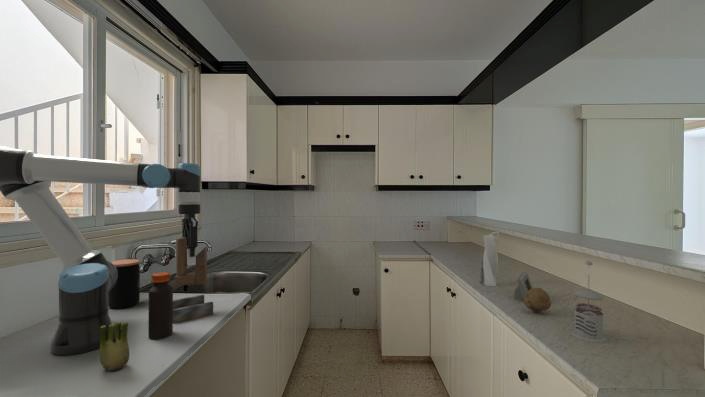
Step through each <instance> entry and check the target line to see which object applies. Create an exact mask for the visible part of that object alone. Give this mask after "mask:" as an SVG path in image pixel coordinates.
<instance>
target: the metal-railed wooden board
mask: <svg viewBox="0 0 705 397" xmlns="http://www.w3.org/2000/svg"><path fill="white" fill-rule="evenodd" d="M211 315H214V302H213V301H207V302H205V294H198V295H194V296H186V297H181V298H177V299H173V324H176V323H180V322H184V321H190V320H193V319H198V318H202V317H207V316H211Z"/></svg>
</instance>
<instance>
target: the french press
mask: <svg viewBox="0 0 705 397" xmlns="http://www.w3.org/2000/svg"><path fill="white" fill-rule="evenodd" d="M585 265H587V266H593V262H592V261H590V260H587V261H586V262H585ZM587 279H588V280H587V282H588V286H587V289H579V290H576V291H574V292H573V294H574V295H572V296H571V295H570V296H569V297H567V298H566V300H565V302H564V303H565V307H564V308H565V310H566V312H567V314H568V315H569V316H571V317H572V318H573V329H572V330H571V331H570V334H571V335H572V336H573V337H575V338H577V339H579V340H583V341H586V342H591V343H595V344H596V343H599V344H600V343H601V344H602V343H606V342H607V341H608V340H607V338H606V337H605V336H604V313H603V312H602V311H603V309H602V307H599V306H598V305H594V304H590V300H592V301H601V300H604V299H605V296H603V295H602V294H601V293H599V292H597V291H594V290H591V289H590V276H588V278H587ZM578 297H579V298H581V299H586V300H588V301H587V303H583V302H582V303H576V304H575V307H576V308H574V309H573V310H574V312H573V313H572V311H571V310H570V307H569V305H567V304H569V303H570V302H569V301H570V299H572V298H573V301H577V300H578ZM584 312H585V313H584ZM586 312H589V313H586ZM592 313H593V314H592ZM594 314H595V315H594Z"/></svg>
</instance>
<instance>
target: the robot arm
mask: <svg viewBox="0 0 705 397" xmlns="http://www.w3.org/2000/svg"><path fill="white" fill-rule="evenodd" d="M54 182H57V183H72V184H73V183H74V184H91V185H92V184H93V185H107V186H108V185H109V186H110V185H112V186H129V187H131V186H132V187H135V186H136V187H142V188H146V189H147V188H148V189H178V192H177V193H178V194H177V198H178V199H177V201H178V203H179V204H178V214H179V215H184V217H183V218H181V231H182V232H181V234H182V236H181V237H185V238H187V247H186V249H187V266H190V267H193V266H192V265H196V255H197V253H196V248H197V247H198V226H199V225H198V224H199V221H198V220H197V218H196V215H199V214H201V204H199V203H201V198H202V197H203V195H201V166H200V165H199V164H198V163H190V162H187V163H186V162H183V163H182V162H181V163H179V164H178V166H177V167H174V168H172V167H166V166H165V165H162V164H161V163H151V164H150V163H139V162H131V161H130V162H129V161H117V160H106V159H105V160H104V159H94V158H93V159H92V158H80V157H78V158H77V157H68V156H67V157H66V156H56V155H46V154H45V155H44V154H37V153H36V152H34V151H33V150H28V149H27V150H26V149H18V148H11V147H9V146H4V145H0V193H1V194H2V196H3V197H4V198H5V199H8V200H10V201H15V202H16V203H17V204H18V207H20V209H21V210H22V212H23V213H24V214H25V215H26V216H27V218H28V219H29V221H30V222H31V224H32V225H33V226H34V227H35V229H36V230H37V232H39V234H40V235H41V236H42V238H43V239H44V241H45V242H46V244H48V246H49V247H50V249H51V250H52V252H53V253H54V255H55V256H56V257H57V258H58V259H59V261H60V262H61V263H62V267H61V271H60V273H59V277H58V281H57V286H58V324H57V327H56V330H55V332H54V335H53V337H52V339H51V342H50V353H52V354H53V355H56V356H71V355H78V354H83V353H87V352H91V351H94V350H97V349H100V340H101V336H100V327H101V326H104V325H105V326H106V330H107V339H108V328H109V325H111V324H113V322H112V320H111V317H110V315H109V306H108V293H109V291H110V290H111V289H112V288H113V287H114V285H115V284H116V281H117V278H118V272H117V269H116V267H115V265H114V264H112V263H111V262H112V261H110V260H107V259H106V257H105V256H104V254H103V253H102V252H101V251H100V250H94V249H93V248H92V246H91V245H90V244H89V242H88V241H87V240H86V238H85V237H84V235H83V234H82V232H81V231H80V230H79V229H78V227H77V226H76V225H75V222H74V221H73V220H72V219H71V217H70V216H69V215H68V213H67V212H66V210H65V209H64V207H62V204H61V203H60V201H59V200H58V199H57V197H56V196H55V195H54V193H53V192H52V191H51V189H50V186H51V184H52V183H54ZM115 336H116V330H115V331H114V339H115Z"/></svg>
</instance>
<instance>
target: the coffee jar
mask: <svg viewBox="0 0 705 397" xmlns="http://www.w3.org/2000/svg"><path fill="white" fill-rule="evenodd" d="M110 262H111V263H112V264H114V265H115V267H116V269H117V272H118V278H117V281H116V284H115V285H114V287H113V288H112V289H111V290H110V291H109V293H108V308H110V309H113V310H124V309H128V308H129V309H130V308H132V307H135V306H137V305H138V304H139V302H140V301H141V299H140V298H141V296H140V295H141V294H140V292H141V291H140V290H141V288H140V287H141V284H140V283H141V281H140V280H141V279H140V278H141V277H140V275H141V274H140V273H141V271H140V270H141V267H140V265H139V264H140V259H134V258H133V259H132V258H131V259H129V258H128V259H120V260H119V259H118V260H113V261H110Z"/></svg>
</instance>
